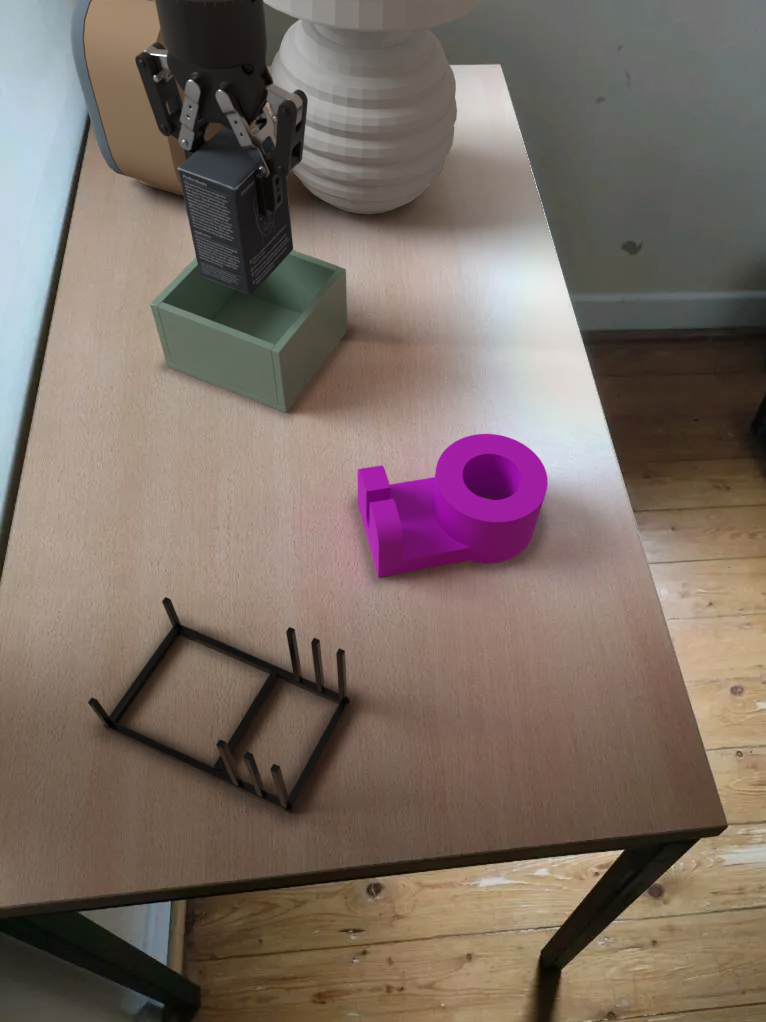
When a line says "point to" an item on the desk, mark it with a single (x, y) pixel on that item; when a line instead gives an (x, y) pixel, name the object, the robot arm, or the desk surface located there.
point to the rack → (229, 748)
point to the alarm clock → (125, 90)
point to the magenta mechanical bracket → (455, 507)
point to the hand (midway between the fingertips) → (237, 198)
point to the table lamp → (370, 96)
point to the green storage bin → (255, 328)
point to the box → (232, 216)
